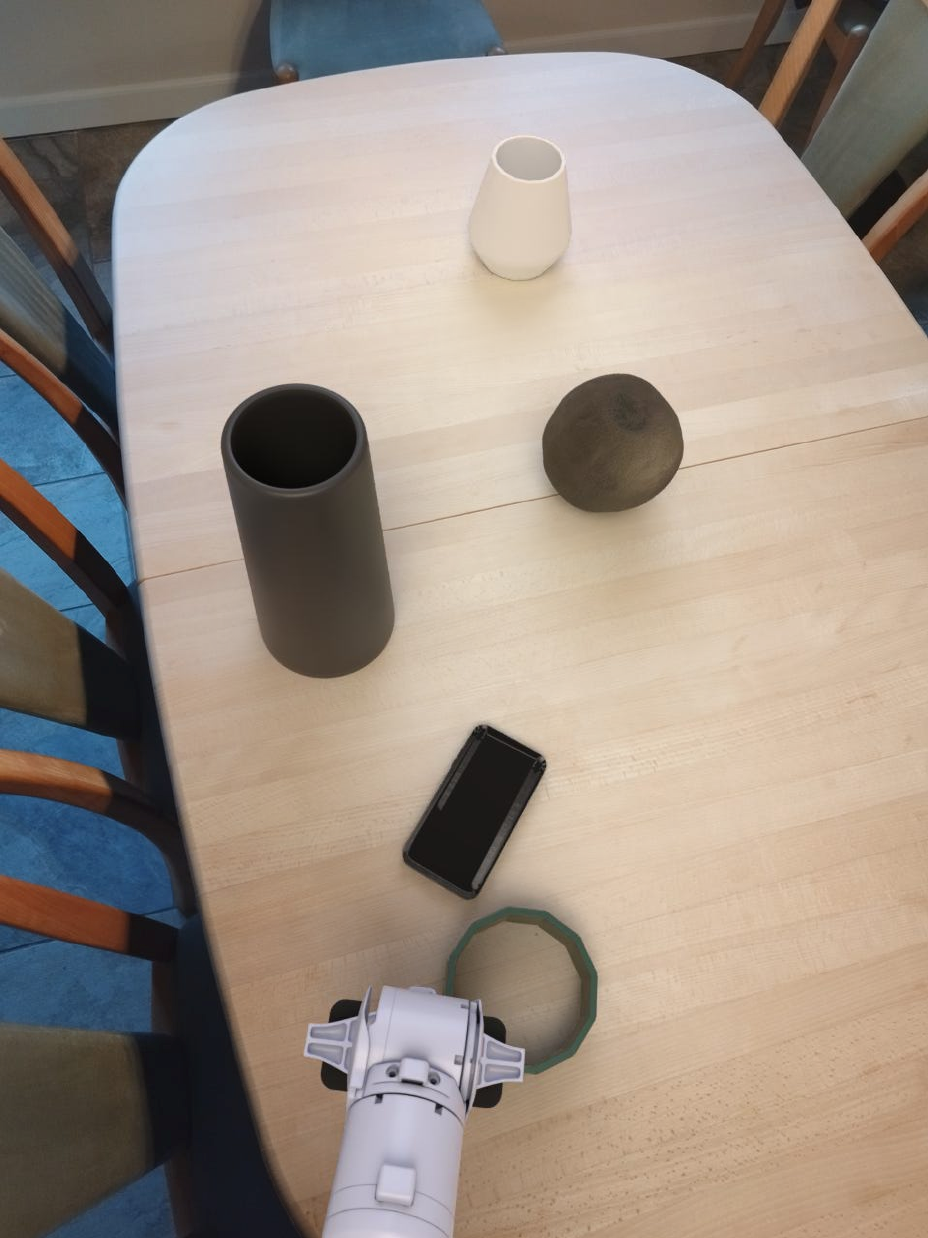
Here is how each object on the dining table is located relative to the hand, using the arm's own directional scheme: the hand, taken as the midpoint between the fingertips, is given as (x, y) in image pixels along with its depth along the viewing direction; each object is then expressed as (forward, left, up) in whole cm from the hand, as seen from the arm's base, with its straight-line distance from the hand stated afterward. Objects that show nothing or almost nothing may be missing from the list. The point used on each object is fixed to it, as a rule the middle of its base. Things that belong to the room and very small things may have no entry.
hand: (414, 1053), depth 65 cm
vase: (+39, +14, -7) cm, 42 cm away
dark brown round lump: (+59, -13, -7) cm, 60 cm away
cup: (+95, -1, -7) cm, 95 cm away
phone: (+21, -3, -6) cm, 22 cm away
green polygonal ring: (+6, -8, -6) cm, 12 cm away
